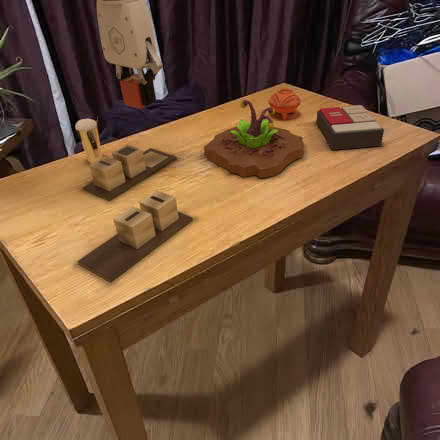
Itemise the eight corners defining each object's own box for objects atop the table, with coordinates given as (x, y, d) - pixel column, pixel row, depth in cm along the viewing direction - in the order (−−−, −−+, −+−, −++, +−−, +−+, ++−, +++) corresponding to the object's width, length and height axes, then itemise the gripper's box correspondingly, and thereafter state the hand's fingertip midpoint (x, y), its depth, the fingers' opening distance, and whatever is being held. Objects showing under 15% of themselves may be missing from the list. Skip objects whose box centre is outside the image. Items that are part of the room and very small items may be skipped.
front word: (78, 264, 70) (68, 238, 67) (160, 206, 81) (156, 182, 78) (110, 282, 67) (102, 256, 63) (192, 220, 77) (189, 195, 74)
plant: (247, 126, 104) (246, 77, 96) (316, 147, 95) (322, 95, 87) (190, 158, 94) (185, 107, 86) (261, 186, 84) (262, 130, 77)
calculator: (363, 103, 102) (385, 126, 90) (360, 121, 104) (381, 146, 93) (317, 106, 101) (334, 130, 90) (315, 125, 104) (331, 150, 93)
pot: (261, 118, 107) (264, 88, 103) (274, 114, 112) (277, 86, 109) (291, 122, 103) (295, 91, 100) (303, 118, 109) (307, 89, 106)
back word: (83, 189, 87) (75, 166, 84) (151, 150, 98) (147, 128, 95) (109, 201, 84) (103, 177, 80) (177, 159, 94) (173, 136, 91)
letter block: (124, 104, 84) (119, 80, 81) (140, 97, 87) (136, 72, 84) (140, 109, 82) (135, 84, 79) (156, 101, 85) (152, 76, 82)
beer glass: (107, 165, 94) (95, 119, 87) (83, 166, 94) (70, 121, 87) (111, 155, 97) (100, 111, 90) (88, 156, 98) (75, 112, 91)
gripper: (69, -10, 73) (97, 99, 86) (138, -3, 66) (158, 116, 78) (102, -18, 77) (124, 87, 90) (171, -12, 70) (184, 102, 82)
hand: (139, 100), depth 84 cm, fingers closed on letter block, 4 cm apart
